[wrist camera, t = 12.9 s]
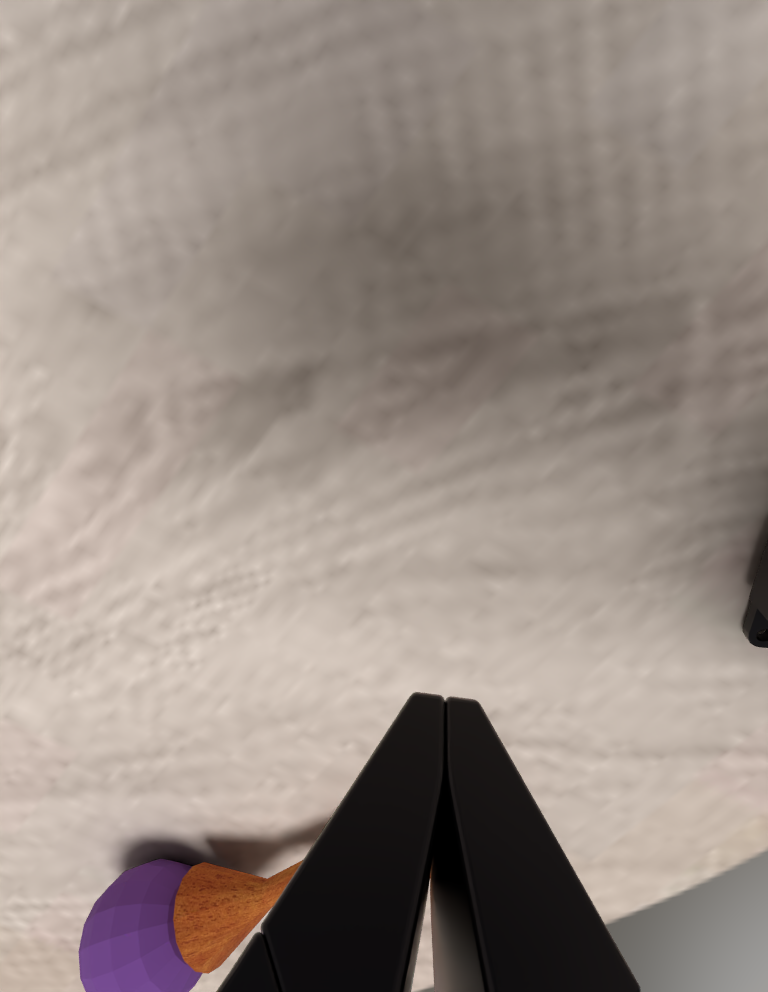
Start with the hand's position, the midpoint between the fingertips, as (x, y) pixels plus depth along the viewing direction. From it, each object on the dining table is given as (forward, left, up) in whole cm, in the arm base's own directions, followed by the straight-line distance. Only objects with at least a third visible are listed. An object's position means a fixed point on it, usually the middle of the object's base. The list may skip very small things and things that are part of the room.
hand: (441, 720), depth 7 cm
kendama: (+7, +21, -12) cm, 25 cm away
